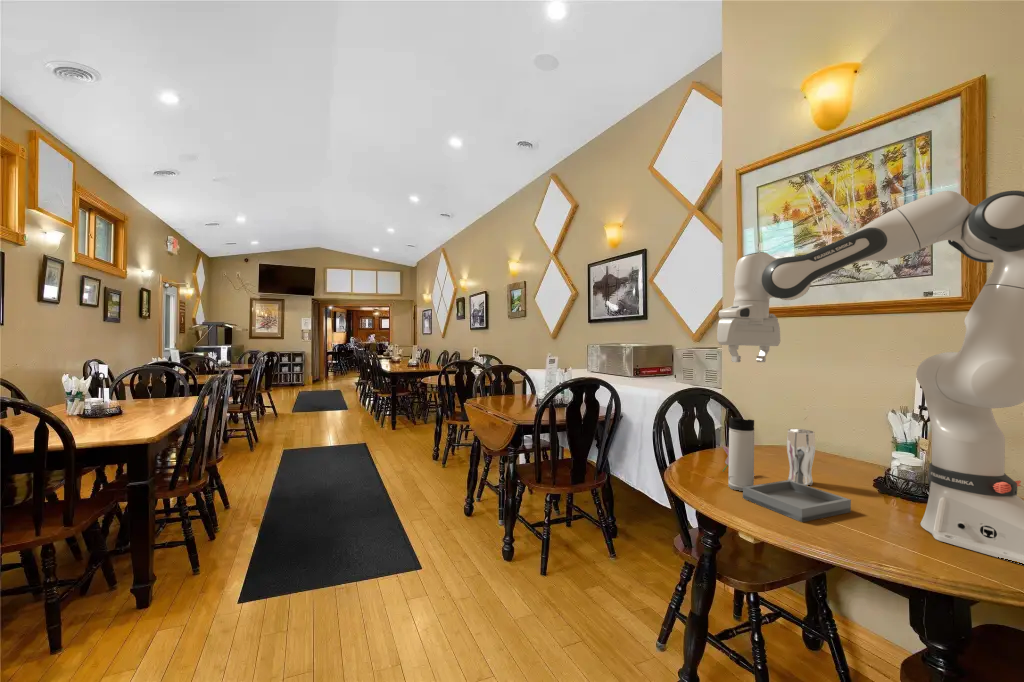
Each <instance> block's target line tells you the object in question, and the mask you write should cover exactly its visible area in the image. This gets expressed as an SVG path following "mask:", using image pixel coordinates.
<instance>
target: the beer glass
mask: <svg viewBox="0 0 1024 682" xmlns="http://www.w3.org/2000/svg"><path fill="white" fill-rule="evenodd" d="M786 435H787V437H786V452H787V457H788V462H789V473H788V478H787V480H791V481H794V482H797V483H800V484H803V485H810V486H813V485H814V482H813V476H812V467H813V463H814V459H815V454H816V438H815V431H814V430H811V429H803V428H788V429H787V434H786Z"/></svg>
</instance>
